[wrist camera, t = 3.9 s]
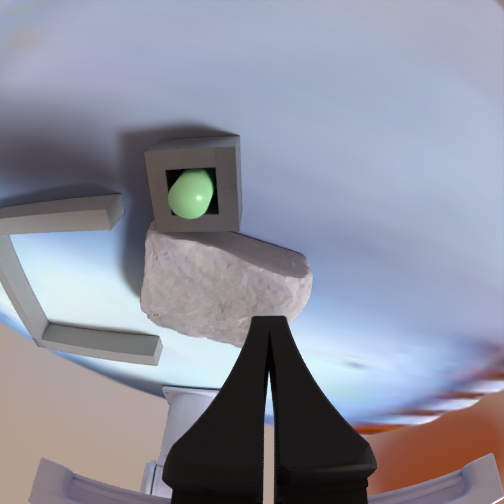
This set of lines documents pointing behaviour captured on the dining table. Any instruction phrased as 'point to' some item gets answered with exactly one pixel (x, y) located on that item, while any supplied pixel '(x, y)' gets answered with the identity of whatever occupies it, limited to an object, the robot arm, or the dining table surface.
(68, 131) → the dining table surface
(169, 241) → the stone block
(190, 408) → the robot arm
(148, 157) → the button box
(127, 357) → the corral
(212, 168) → the button
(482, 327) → the dining table surface
